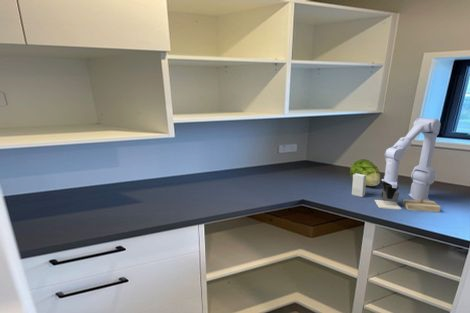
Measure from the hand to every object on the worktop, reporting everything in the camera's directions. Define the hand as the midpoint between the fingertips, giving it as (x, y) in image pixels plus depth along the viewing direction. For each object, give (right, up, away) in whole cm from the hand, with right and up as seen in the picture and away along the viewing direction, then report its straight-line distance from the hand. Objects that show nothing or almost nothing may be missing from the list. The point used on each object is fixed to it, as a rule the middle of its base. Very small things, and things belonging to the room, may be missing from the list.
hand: (388, 197), depth 146 cm
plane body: (+14, -5, -3) cm, 16 cm away
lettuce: (+3, +3, +34) cm, 35 cm away
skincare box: (-9, -1, +15) cm, 18 cm away
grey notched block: (0, -2, 0) cm, 2 cm away
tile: (0, -4, +1) cm, 4 cm away
